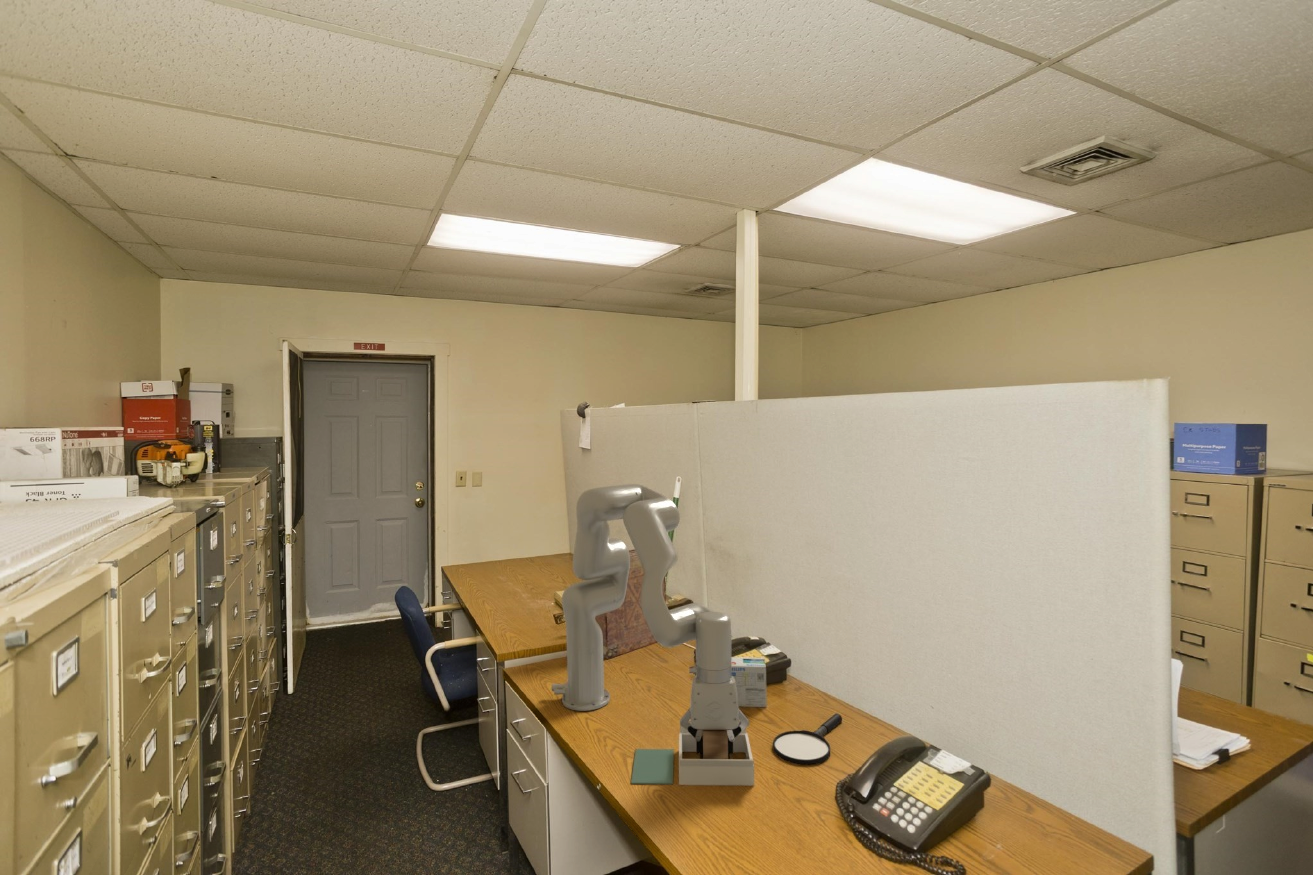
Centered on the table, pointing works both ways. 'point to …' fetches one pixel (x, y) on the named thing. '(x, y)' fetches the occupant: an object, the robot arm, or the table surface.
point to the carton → (715, 764)
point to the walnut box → (715, 744)
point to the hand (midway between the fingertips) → (714, 755)
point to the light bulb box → (750, 681)
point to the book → (627, 617)
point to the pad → (653, 766)
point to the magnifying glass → (805, 744)
